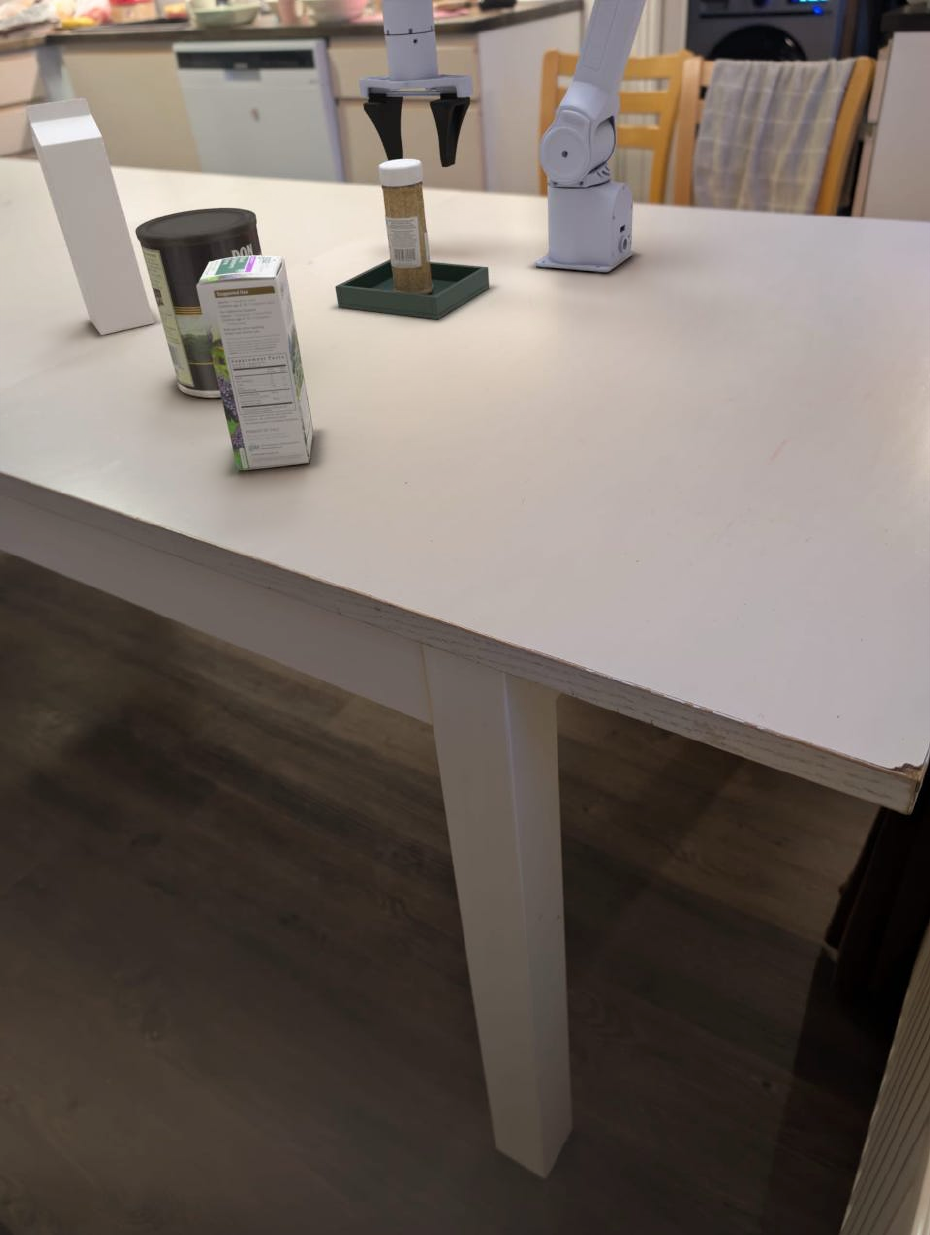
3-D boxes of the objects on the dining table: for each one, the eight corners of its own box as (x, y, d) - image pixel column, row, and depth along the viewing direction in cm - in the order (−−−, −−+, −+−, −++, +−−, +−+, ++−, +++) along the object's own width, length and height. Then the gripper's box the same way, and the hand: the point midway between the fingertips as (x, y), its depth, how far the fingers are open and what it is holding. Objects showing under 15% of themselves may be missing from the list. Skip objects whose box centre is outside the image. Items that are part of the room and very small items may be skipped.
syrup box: (245, 440, 75) (202, 259, 66) (316, 433, 75) (283, 251, 66) (237, 472, 70) (190, 282, 62) (313, 464, 70) (277, 273, 62)
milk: (155, 324, 102) (93, 100, 88) (100, 336, 100) (28, 109, 86) (142, 310, 106) (81, 95, 93) (89, 321, 104) (20, 103, 91)
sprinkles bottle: (441, 288, 102) (429, 157, 94) (419, 301, 99) (405, 167, 91) (407, 285, 105) (393, 156, 96) (385, 297, 101) (369, 165, 93)
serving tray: (489, 287, 103) (488, 267, 102) (437, 319, 96) (435, 297, 94) (394, 277, 109) (391, 258, 108) (338, 307, 102) (335, 286, 100)
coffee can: (307, 365, 88) (279, 210, 79) (233, 406, 81) (194, 241, 73) (230, 351, 92) (196, 203, 84) (154, 388, 86) (109, 231, 77)
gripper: (337, 38, 103) (354, 169, 111) (445, 34, 96) (456, 173, 104) (373, 31, 108) (387, 157, 116) (478, 27, 101) (485, 161, 109)
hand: (421, 164), depth 110 cm, fingers open, 7 cm apart
